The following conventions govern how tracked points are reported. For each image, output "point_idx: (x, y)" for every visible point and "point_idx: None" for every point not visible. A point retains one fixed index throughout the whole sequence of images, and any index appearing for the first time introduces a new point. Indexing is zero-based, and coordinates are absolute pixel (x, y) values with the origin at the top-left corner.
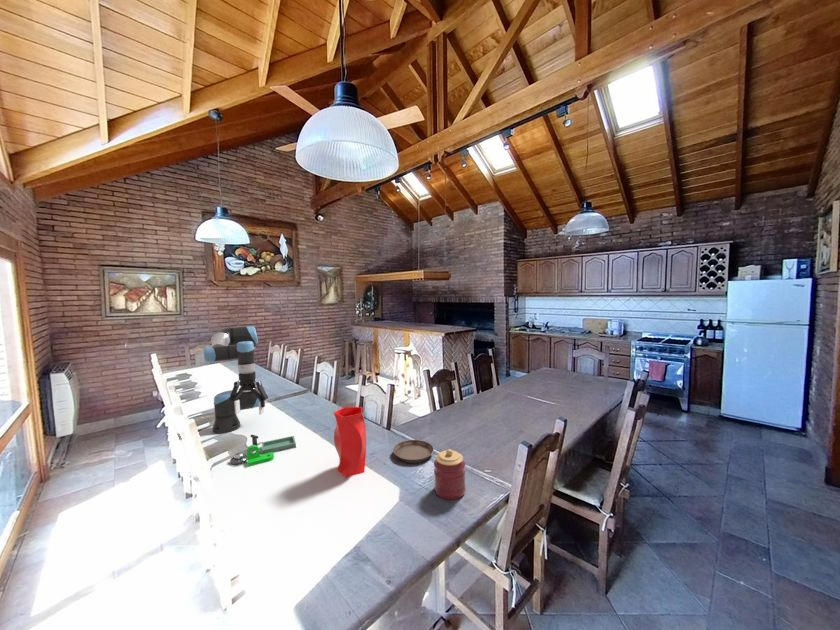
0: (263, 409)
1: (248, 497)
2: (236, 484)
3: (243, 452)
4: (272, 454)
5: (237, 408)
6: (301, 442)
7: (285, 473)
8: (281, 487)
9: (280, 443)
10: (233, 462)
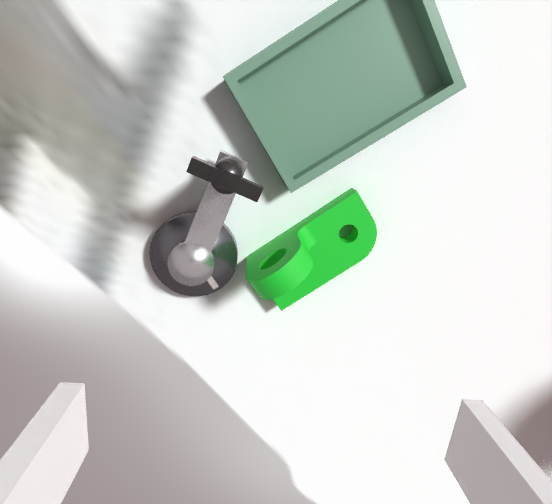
0: (511, 447)
1: (396, 467)
2: (311, 414)
3: (201, 239)
4: (366, 222)
5: (47, 497)
6: (467, 12)
7: (474, 340)
8: None
9: (336, 42)
10: (193, 294)
